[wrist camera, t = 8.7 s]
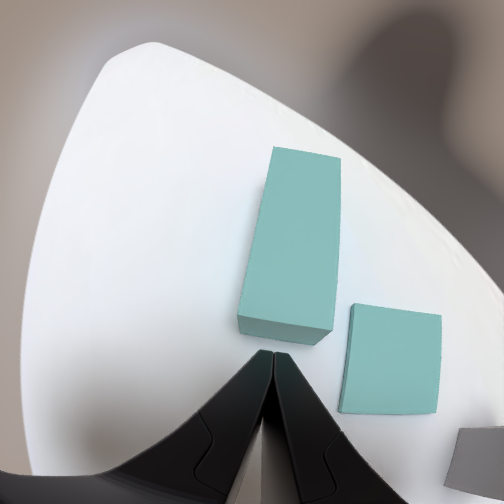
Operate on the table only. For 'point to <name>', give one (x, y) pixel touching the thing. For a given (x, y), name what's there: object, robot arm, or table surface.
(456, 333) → the table surface
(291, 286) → the teal pillar
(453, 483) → the grey pillar
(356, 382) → the teal colour card
